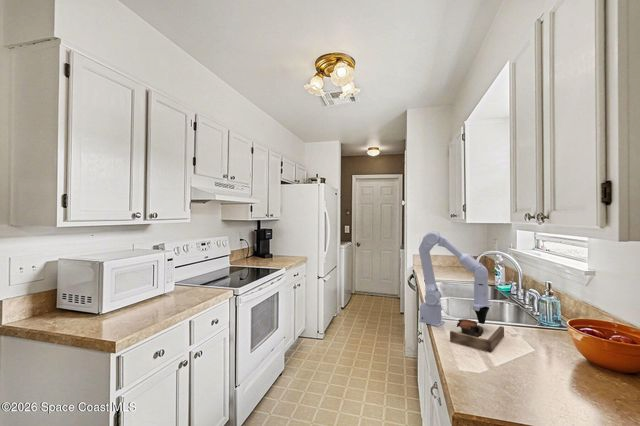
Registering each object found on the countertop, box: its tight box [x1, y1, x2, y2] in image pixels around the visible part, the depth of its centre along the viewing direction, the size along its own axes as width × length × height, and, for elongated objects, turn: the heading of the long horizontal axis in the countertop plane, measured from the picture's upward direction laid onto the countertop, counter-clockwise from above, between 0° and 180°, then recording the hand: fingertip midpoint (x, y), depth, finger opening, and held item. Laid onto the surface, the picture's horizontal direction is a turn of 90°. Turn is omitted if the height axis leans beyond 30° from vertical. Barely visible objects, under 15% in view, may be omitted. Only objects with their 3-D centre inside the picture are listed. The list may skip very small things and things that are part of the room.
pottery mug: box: [456, 318, 484, 338], centre depth 126 cm, size 12×10×8 cm
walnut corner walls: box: [449, 325, 505, 354], centre depth 123 cm, size 15×20×4 cm
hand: (481, 323), depth 133 cm, fingers closed
